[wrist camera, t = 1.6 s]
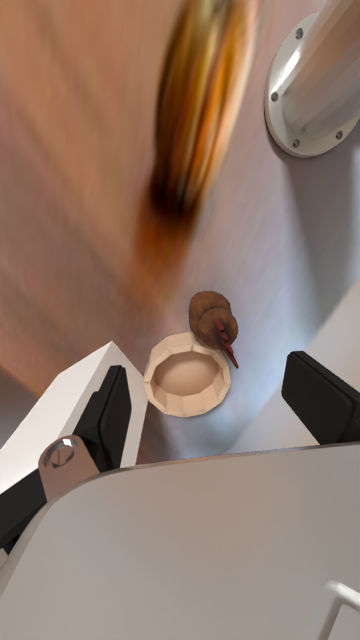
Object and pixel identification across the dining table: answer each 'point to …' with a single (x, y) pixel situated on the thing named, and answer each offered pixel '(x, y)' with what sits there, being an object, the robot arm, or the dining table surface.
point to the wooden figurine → (213, 321)
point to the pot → (186, 376)
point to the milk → (71, 414)
